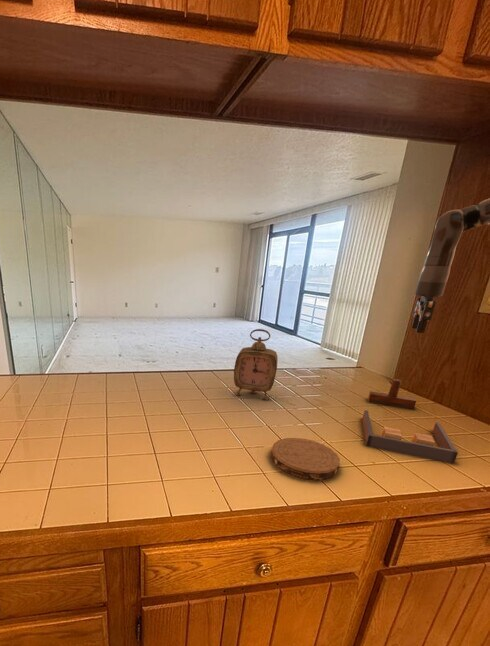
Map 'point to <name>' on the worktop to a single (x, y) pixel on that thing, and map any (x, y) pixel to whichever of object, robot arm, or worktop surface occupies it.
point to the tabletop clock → (255, 367)
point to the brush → (392, 397)
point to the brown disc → (305, 459)
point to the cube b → (423, 439)
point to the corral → (412, 443)
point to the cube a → (392, 433)
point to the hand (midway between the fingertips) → (417, 330)
